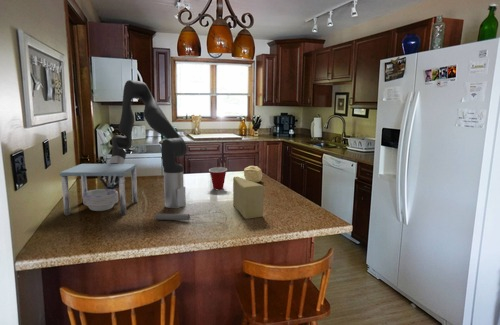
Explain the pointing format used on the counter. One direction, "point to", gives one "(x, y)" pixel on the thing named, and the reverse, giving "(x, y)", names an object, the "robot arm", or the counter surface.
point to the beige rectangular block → (248, 197)
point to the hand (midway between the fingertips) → (109, 194)
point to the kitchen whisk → (181, 217)
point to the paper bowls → (100, 199)
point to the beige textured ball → (253, 174)
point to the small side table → (100, 170)
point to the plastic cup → (218, 177)
